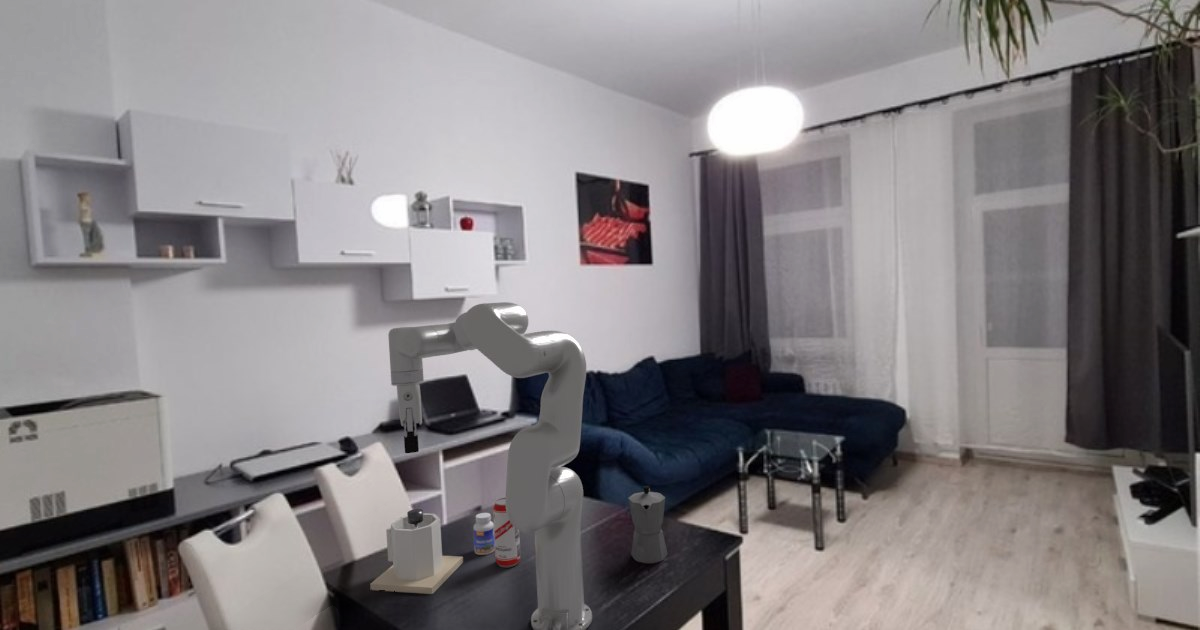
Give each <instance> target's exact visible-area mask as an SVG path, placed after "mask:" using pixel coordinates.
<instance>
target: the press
mask: <svg viewBox="0 0 1200 630" xmlns="http://www.w3.org/2000/svg"><path fill="white" fill-rule="evenodd" d="M441 526H442V525H441V519H440V517H439V516H438V515H437V514H436V513H427V512H426V513H424V512H423V521H422V522H420V523H418V527H419V528H417V529H413V524H409V523H408V515H404V516H402V517H400V518H398V519H396V520H395V521H394V522H392V523H391V524H390V527H387V528H386V545H387V561H388V562H392V563H393V564H392V565H391V566H390V567H389V568H387V569H386V570H385V571H384V572H382V573H381V574H380V575H379V576H377V577H376V578H375V579H374V580H373V581H372V582H370V584H369V585H370V590H371V589H372V590H371V591H379V590H385V591H384V592H394V591H395V592H397V593H410V594H411V593H412V594H423V595H424V594H425V595H426V594H427V595H432V594H435V592H436V591H437V590H438V589H439V588H440V587H441V586H442V585H443V584H444V583H445V582H446V581H447V580H448V579H449V577H451V576H452V574H454V572H456V571H457V569H459V567H460V566H461V565H462V564H464V557H463V556H455V555H454V556H453V555H443V550H442V549H443V547H442V546H443V545H442V530H441V528H442V527H441Z"/></svg>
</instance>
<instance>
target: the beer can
mask: <svg viewBox="0 0 1200 630" xmlns="http://www.w3.org/2000/svg"><path fill="white" fill-rule="evenodd" d="M494 503H495V504H494V505H493V508H492V511H493V512H492V514H493V515H492V516H493V524H494V539H495V550H494V555H495V563H496V564H497V565H498V566H499V567H501V568H512V567H514V566H517V565H518V563H519V562H520V561H521V557H522V556H521V541H520V531H519V530H517V529H516V528H515V527H514V526H513V525H512V524H511V522H510V520H509V518H508V515H507V512H506V503H505V497H501V498H498V499H496V500H495V501H494Z"/></svg>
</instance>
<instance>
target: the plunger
mask: <svg viewBox="0 0 1200 630" xmlns="http://www.w3.org/2000/svg"><path fill="white" fill-rule="evenodd" d="M423 513H424V512H423V509H422V508H414V509H410V510H408V511H407V514H406V516H408V523H409V524H413V529H417V528H419V527H418V523H420V522H422V521H423Z"/></svg>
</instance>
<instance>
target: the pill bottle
mask: <svg viewBox="0 0 1200 630" xmlns="http://www.w3.org/2000/svg"><path fill="white" fill-rule="evenodd" d="M491 520H492V516H491V513H489V512H481V513H478V514H476V515H475V523H474V524H473V547H474V553H475V554H476V555H478V556H485V555H490V554H492V553H493V552H495V537H494V521H491Z"/></svg>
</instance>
